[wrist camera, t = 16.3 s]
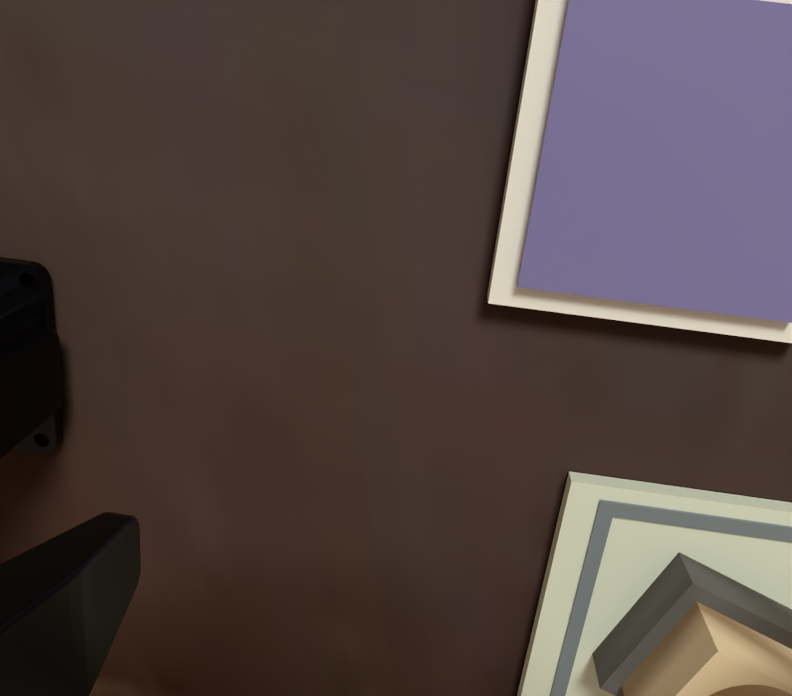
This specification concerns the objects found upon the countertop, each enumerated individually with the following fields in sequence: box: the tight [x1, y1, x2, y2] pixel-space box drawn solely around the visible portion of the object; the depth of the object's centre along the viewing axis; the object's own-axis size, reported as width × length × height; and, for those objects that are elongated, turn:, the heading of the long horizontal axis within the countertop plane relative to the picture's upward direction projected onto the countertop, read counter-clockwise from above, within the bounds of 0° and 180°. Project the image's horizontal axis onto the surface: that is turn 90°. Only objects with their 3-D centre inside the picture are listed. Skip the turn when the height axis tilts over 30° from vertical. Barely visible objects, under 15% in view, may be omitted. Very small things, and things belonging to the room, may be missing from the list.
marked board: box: [517, 471, 792, 696], centre depth 24 cm, size 12×11×1 cm
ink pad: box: [487, 0, 792, 343], centre depth 19 cm, size 9×9×1 cm
